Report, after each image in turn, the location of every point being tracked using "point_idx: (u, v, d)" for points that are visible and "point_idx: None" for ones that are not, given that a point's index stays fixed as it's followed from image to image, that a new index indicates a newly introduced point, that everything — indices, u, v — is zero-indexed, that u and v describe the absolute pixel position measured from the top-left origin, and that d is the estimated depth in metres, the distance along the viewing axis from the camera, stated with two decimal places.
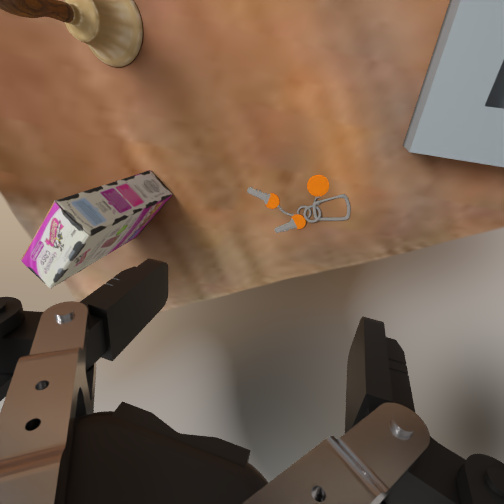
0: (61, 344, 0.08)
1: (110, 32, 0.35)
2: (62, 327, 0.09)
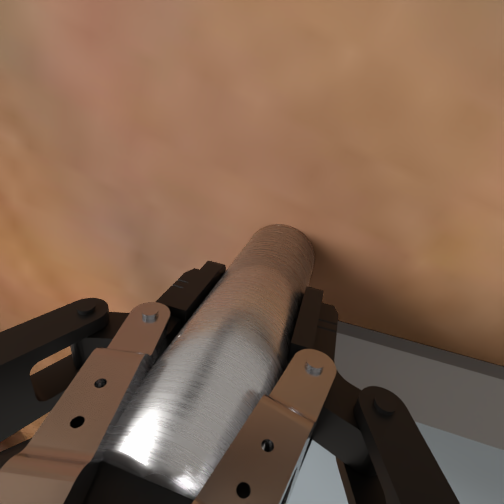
0: (156, 343, 0.09)
1: None
2: (143, 327, 0.09)
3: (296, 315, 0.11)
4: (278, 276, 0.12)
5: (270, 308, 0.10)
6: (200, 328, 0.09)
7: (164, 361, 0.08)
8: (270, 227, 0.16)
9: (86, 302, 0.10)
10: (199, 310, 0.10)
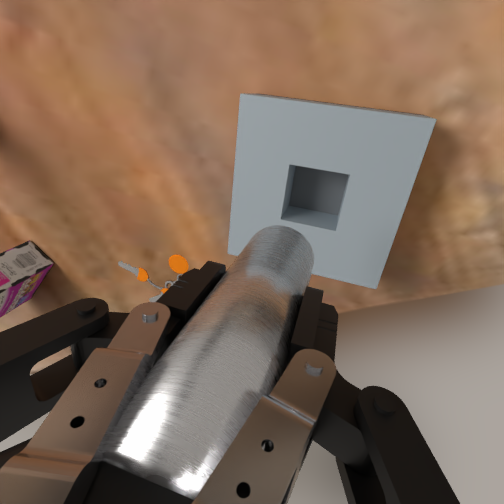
0: (156, 343, 0.09)
1: None
2: (143, 327, 0.09)
3: (295, 316, 0.11)
4: (277, 278, 0.12)
5: (269, 309, 0.10)
6: (200, 329, 0.09)
7: (164, 362, 0.08)
8: (270, 228, 0.16)
9: (86, 302, 0.10)
10: (199, 311, 0.10)
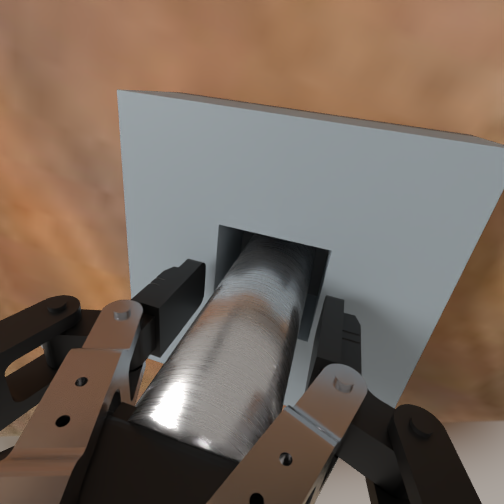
0: (125, 340, 0.09)
1: None
2: (116, 325, 0.09)
3: (301, 303, 0.12)
4: (284, 267, 0.13)
5: (279, 296, 0.11)
6: (217, 314, 0.10)
7: (186, 343, 0.09)
8: None
9: (56, 299, 0.10)
10: (213, 299, 0.11)
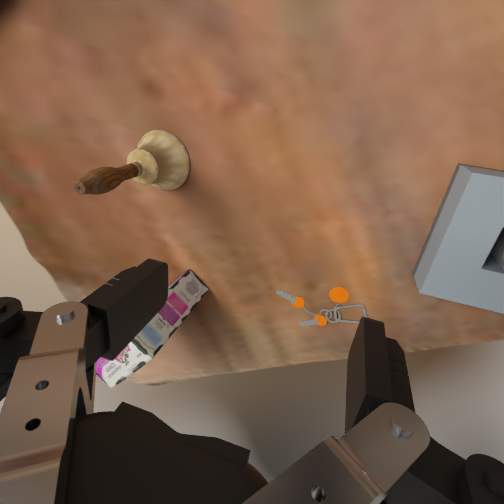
0: (61, 344, 0.08)
1: (165, 174, 0.42)
2: (62, 327, 0.09)
3: None
4: None
5: None
6: None
7: None
8: None
9: None
10: None
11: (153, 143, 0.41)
